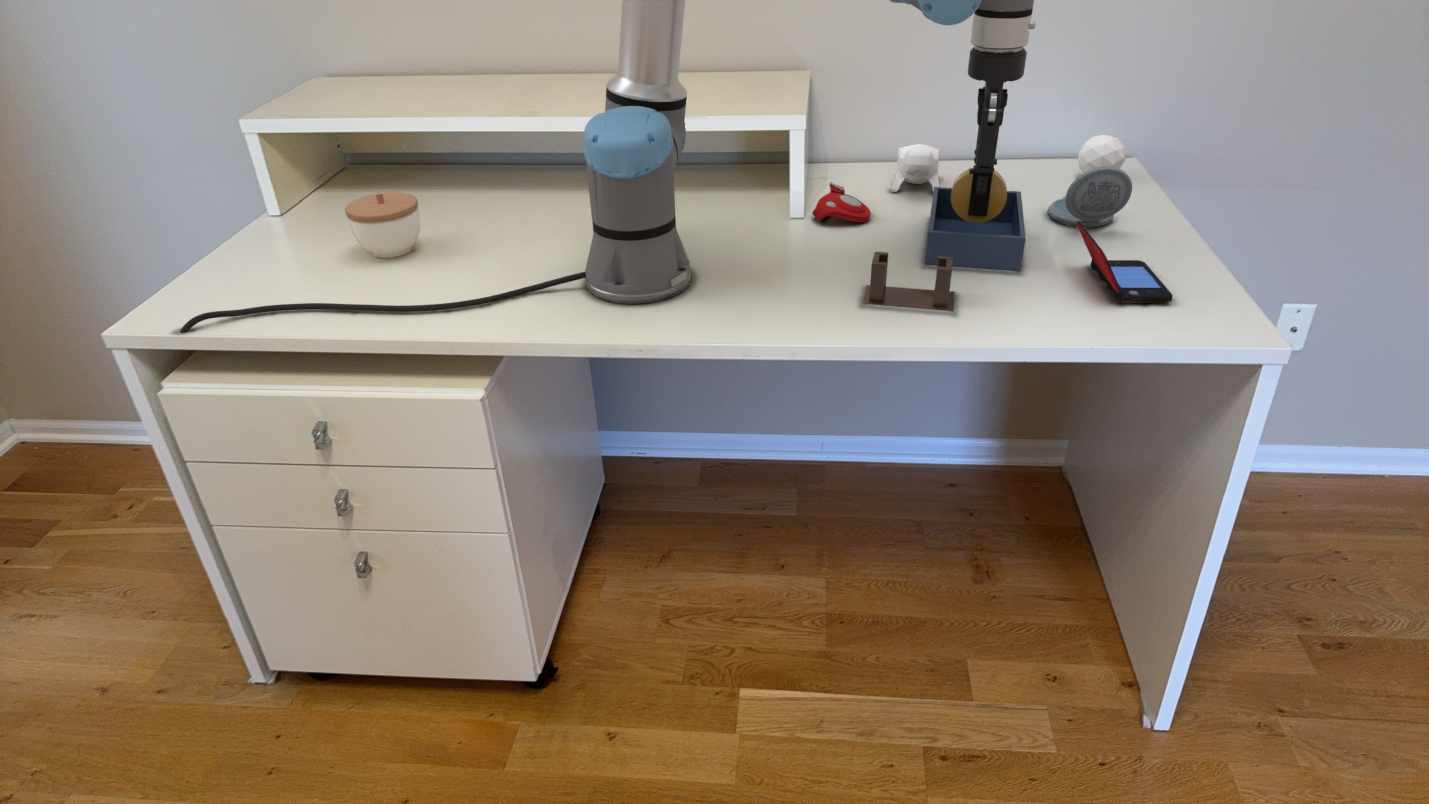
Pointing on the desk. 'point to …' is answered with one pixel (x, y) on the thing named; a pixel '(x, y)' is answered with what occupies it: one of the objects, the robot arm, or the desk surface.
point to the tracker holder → (841, 206)
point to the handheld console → (1125, 276)
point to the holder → (907, 296)
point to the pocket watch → (1093, 198)
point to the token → (963, 192)
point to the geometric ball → (1101, 153)
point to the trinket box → (385, 223)
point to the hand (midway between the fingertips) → (977, 211)
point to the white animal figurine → (917, 166)
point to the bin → (976, 235)
